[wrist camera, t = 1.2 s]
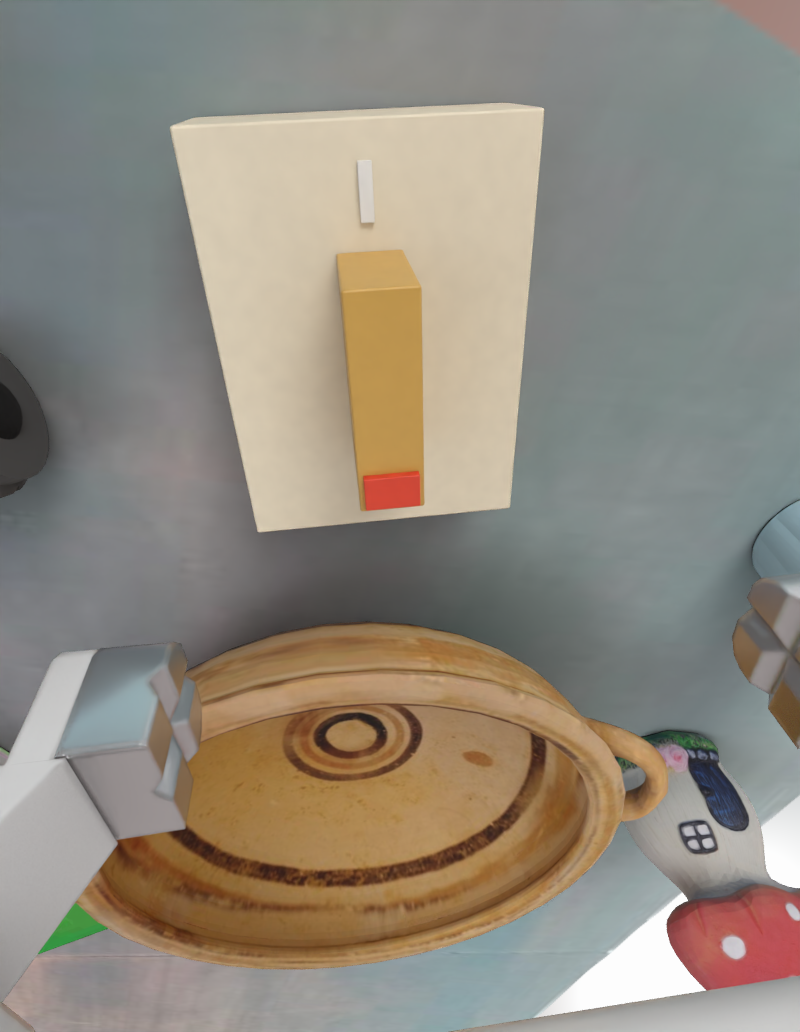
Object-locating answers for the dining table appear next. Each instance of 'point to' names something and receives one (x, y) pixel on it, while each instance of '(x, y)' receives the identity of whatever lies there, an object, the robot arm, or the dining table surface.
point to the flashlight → (19, 431)
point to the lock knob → (384, 376)
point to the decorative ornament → (715, 869)
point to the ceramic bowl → (371, 802)
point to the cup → (779, 544)
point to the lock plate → (316, 300)
